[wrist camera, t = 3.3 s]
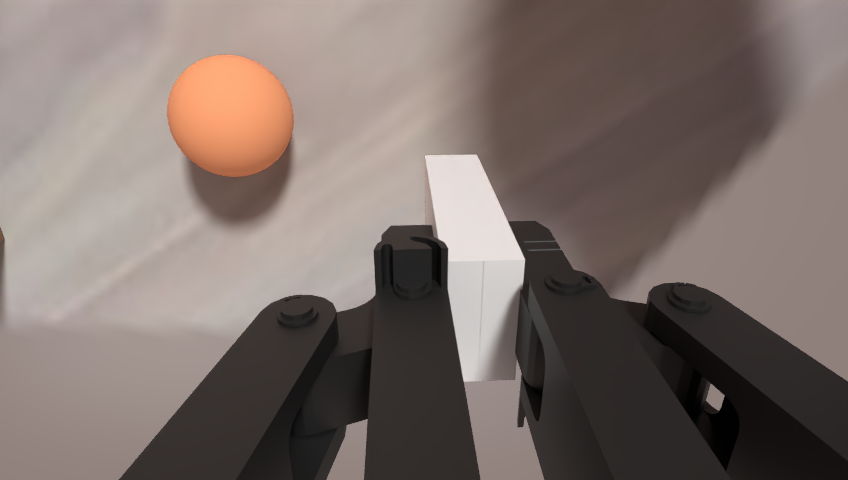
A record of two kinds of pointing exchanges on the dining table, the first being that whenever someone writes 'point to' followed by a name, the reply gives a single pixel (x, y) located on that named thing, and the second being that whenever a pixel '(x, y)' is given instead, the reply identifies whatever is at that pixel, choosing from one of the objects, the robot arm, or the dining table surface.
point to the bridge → (1, 236)
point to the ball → (230, 115)
